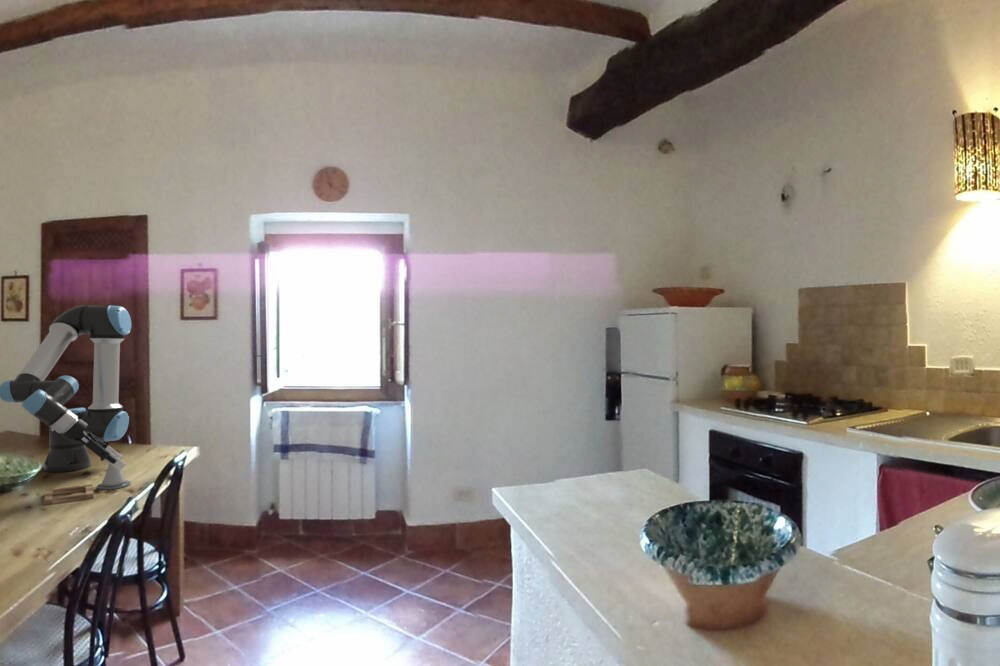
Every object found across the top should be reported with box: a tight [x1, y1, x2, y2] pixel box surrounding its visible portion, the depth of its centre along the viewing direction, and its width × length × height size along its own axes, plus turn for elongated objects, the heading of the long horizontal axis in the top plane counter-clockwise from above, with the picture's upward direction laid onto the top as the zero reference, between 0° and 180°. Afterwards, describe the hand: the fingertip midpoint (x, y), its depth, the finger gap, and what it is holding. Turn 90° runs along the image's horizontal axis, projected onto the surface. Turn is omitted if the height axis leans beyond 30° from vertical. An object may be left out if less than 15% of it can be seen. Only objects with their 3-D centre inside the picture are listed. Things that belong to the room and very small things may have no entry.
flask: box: [100, 455, 128, 486], centre depth 212 cm, size 7×7×10 cm
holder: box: [44, 484, 95, 506], centre depth 199 cm, size 13×13×2 cm
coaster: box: [96, 479, 132, 491], centre depth 212 cm, size 10×10×1 cm
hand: (121, 463), depth 213 cm, fingers open, 13 cm apart
